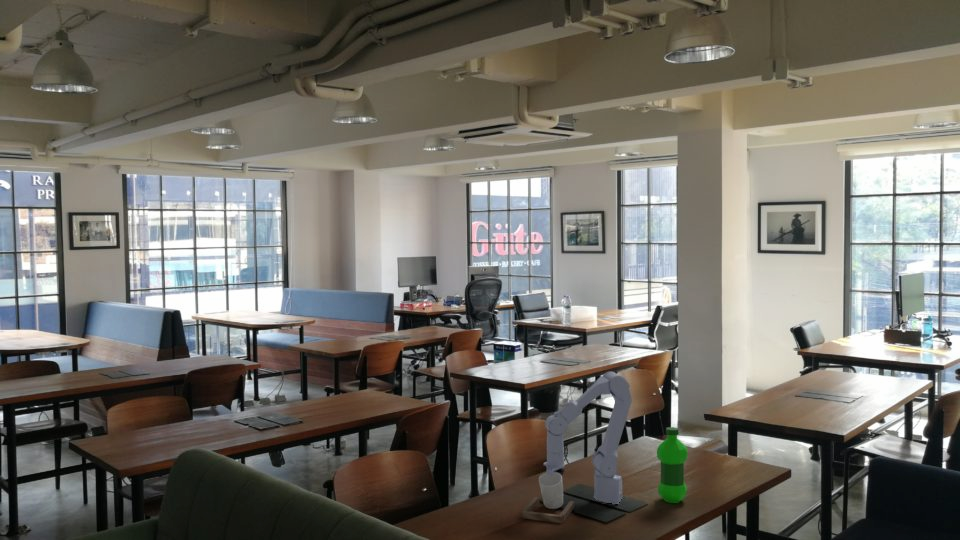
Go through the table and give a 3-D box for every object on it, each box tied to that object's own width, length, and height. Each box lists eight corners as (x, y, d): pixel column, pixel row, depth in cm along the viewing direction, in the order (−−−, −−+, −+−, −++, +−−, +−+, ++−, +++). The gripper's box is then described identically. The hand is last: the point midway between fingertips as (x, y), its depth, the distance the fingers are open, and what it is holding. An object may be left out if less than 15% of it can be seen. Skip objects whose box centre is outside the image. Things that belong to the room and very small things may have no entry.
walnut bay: (574, 507, 262) (574, 501, 262) (562, 523, 247) (562, 517, 247) (535, 502, 267) (534, 496, 267) (520, 518, 252) (520, 511, 252)
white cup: (564, 510, 259) (561, 485, 255) (541, 510, 260) (538, 486, 256) (565, 494, 266) (562, 470, 262) (542, 495, 267) (539, 471, 264)
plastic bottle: (688, 497, 270) (688, 426, 269) (686, 507, 260) (686, 433, 259) (659, 494, 274) (659, 424, 273) (655, 504, 264) (655, 431, 263)
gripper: (550, 444, 273) (550, 482, 274) (537, 455, 260) (537, 495, 260) (569, 446, 270) (569, 484, 271) (557, 457, 257) (558, 498, 258)
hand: (555, 490), depth 265 cm, fingers closed, pressing on white cup
